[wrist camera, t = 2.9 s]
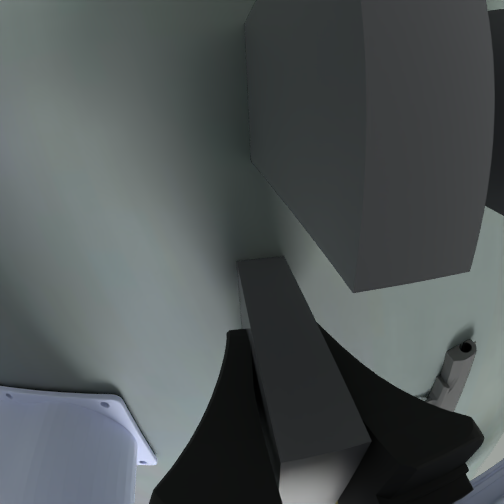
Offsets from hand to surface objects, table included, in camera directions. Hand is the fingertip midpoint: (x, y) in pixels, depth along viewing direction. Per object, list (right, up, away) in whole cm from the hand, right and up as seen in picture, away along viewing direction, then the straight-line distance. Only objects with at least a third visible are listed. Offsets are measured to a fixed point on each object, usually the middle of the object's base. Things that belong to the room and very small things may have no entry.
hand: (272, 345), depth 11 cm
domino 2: (0, +1, +2) cm, 2 cm away
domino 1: (0, +9, -2) cm, 9 cm away
